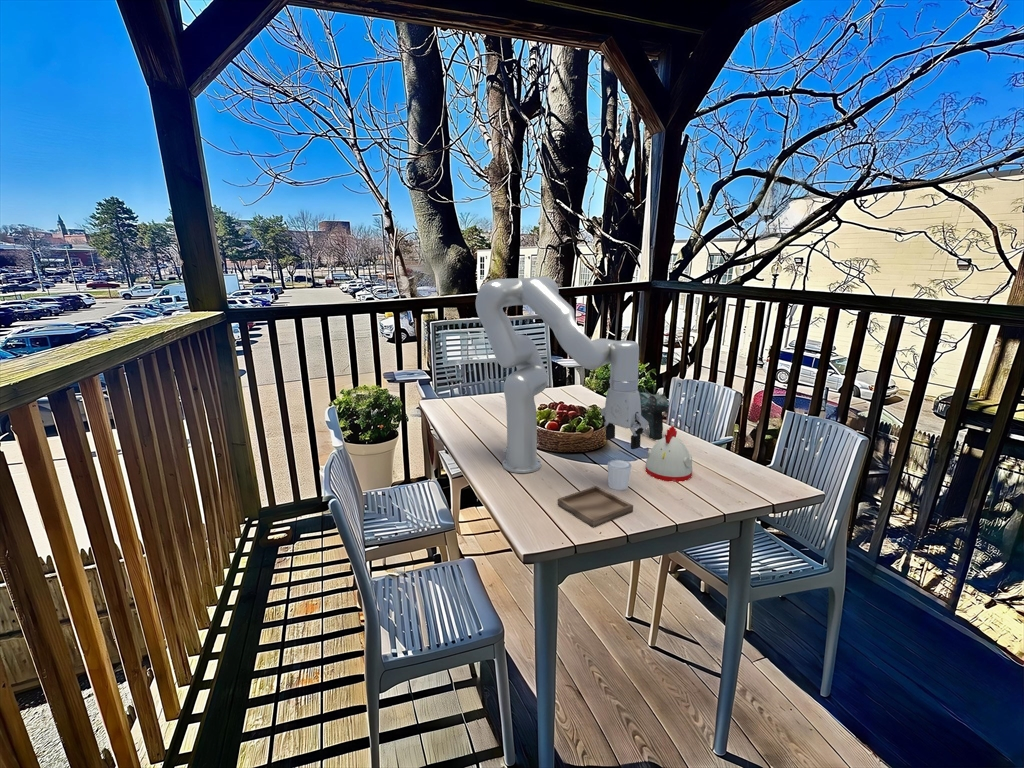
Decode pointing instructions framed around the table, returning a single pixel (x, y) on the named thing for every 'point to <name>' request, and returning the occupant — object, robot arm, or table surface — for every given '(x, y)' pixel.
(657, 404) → the dark green animal figurine
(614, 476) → the shot glass
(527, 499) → the table surface
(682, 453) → the kitchen timer
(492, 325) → the robot arm
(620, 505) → the walnut tray
